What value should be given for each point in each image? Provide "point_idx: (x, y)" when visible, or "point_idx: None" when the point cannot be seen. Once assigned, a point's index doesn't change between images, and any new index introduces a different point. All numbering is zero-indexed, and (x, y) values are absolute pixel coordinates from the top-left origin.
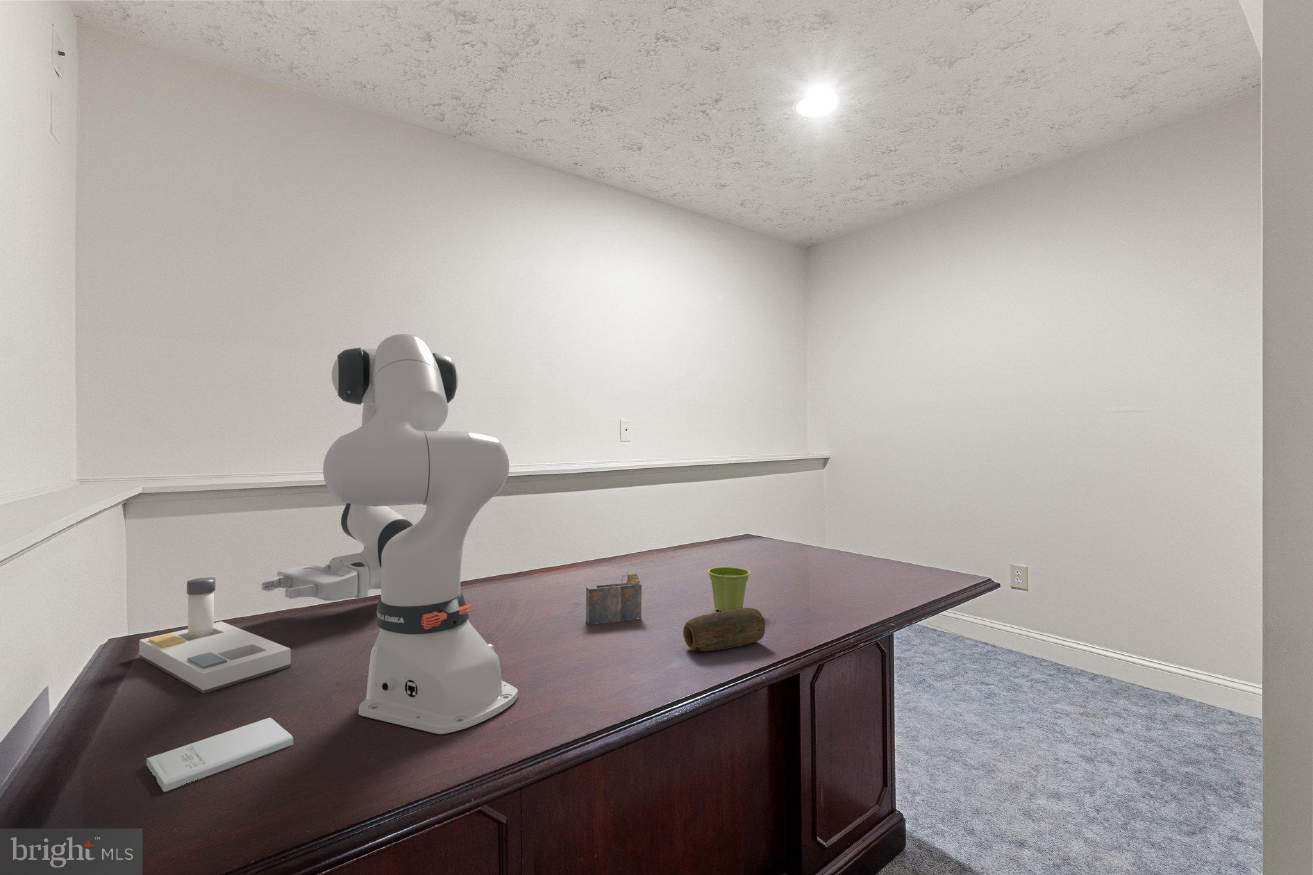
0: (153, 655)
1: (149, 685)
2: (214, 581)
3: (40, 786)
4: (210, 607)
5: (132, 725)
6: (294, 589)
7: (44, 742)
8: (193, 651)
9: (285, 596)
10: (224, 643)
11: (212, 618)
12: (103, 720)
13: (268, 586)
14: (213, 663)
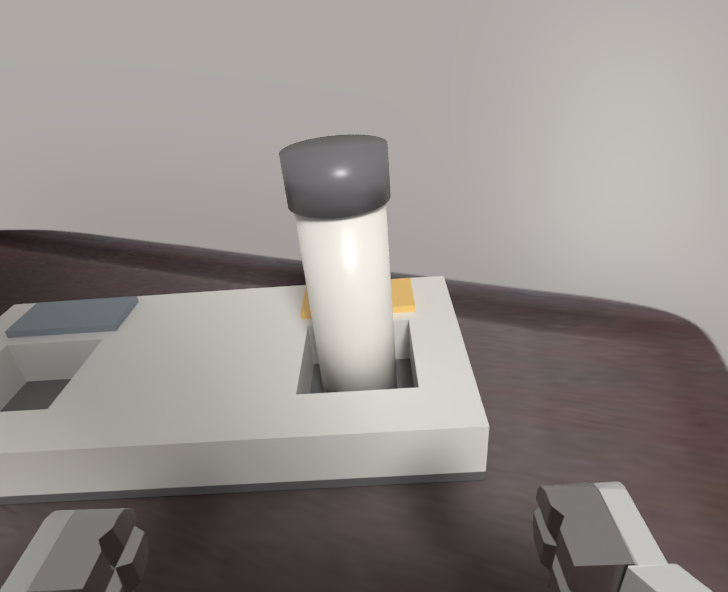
0: None
1: None
2: (294, 171)
3: (27, 237)
4: (306, 275)
5: (60, 281)
6: (26, 552)
7: (140, 240)
8: (191, 317)
9: (142, 543)
10: (164, 366)
11: (319, 323)
12: (129, 267)
13: (553, 537)
14: (25, 314)
